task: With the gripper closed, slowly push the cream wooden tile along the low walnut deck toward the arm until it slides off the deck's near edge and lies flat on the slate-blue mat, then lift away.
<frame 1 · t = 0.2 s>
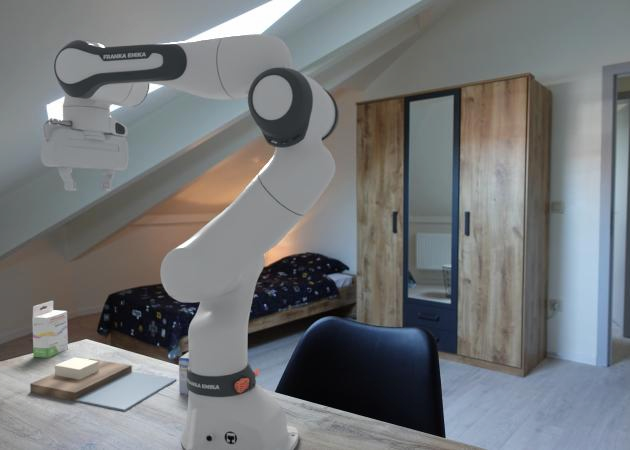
hand: (89, 190, 100), 48 cm above the table, fingers open, 8 cm apart
mat: (128, 390, 114), on the table
medicine box: (195, 388, 116), on the table
ink box: (51, 353, 140), on the table
deck: (83, 381, 119), on the table
tile: (77, 372, 119), point 2 cm above the table, touching deck
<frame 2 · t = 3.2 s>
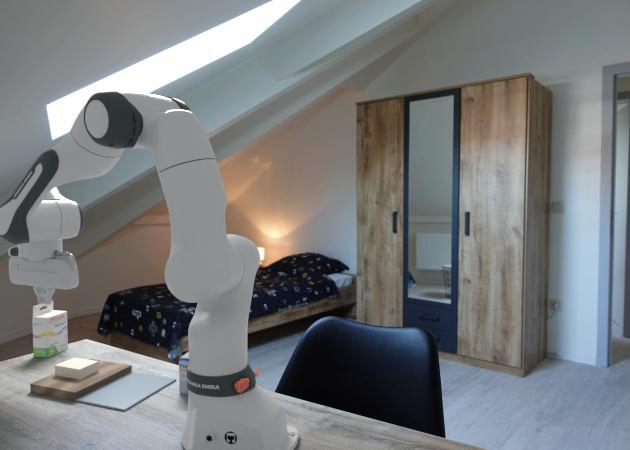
hand: (44, 303, 122), 19 cm above the table, fingers closed
nothing on the table moved.
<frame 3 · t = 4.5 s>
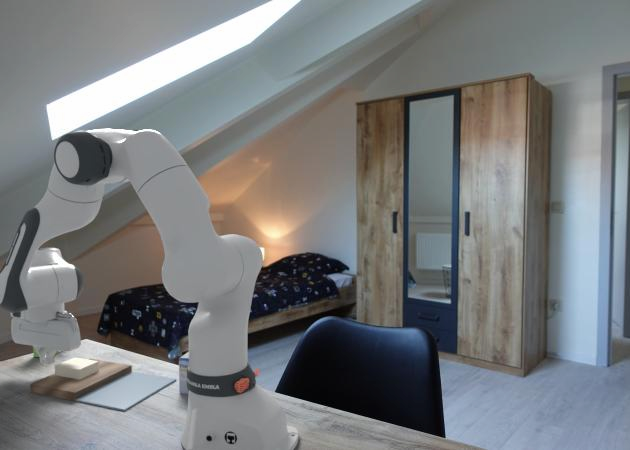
hand: (46, 363, 123), 3 cm above the table, fingers closed
nothing on the table moved.
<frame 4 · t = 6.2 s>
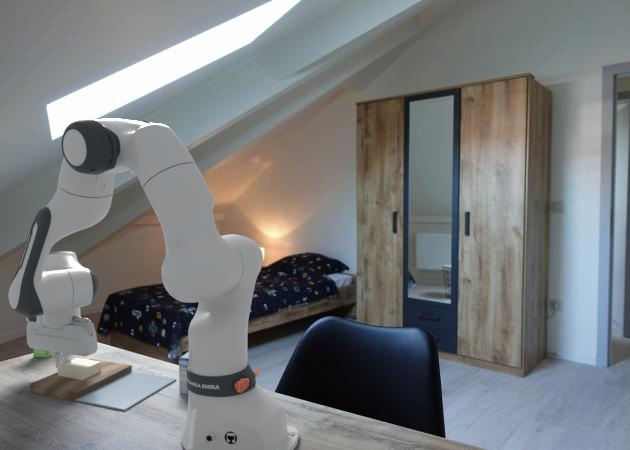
hand: (63, 368, 121), 3 cm above the table, fingers closed
tile: (79, 373, 119), point 2 cm above the table, touching deck, gripper
everything else where it was.
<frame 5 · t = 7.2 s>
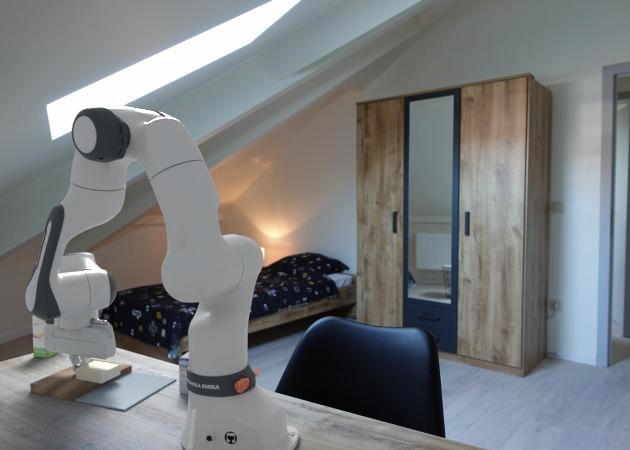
hand: (80, 371, 119), 3 cm above the table, fingers closed
tile: (98, 376, 117), point 2 cm above the table, touching deck, gripper
everything else where it was.
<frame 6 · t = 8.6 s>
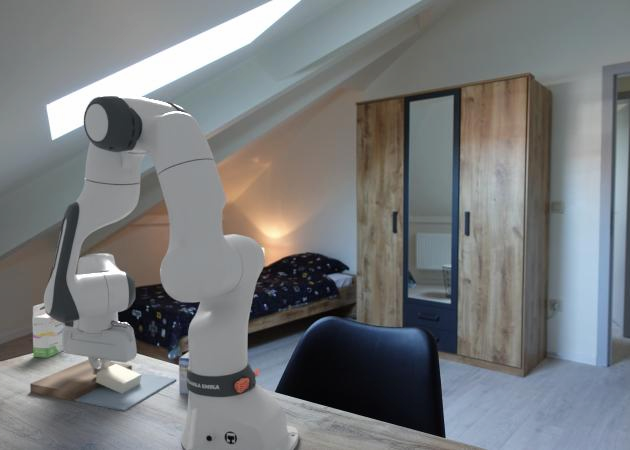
hand: (100, 374, 117), 3 cm above the table, fingers closed
tile: (118, 383, 115), point 1 cm above the table, tilted 12°, touching deck, gripper, mat
everything else where it was.
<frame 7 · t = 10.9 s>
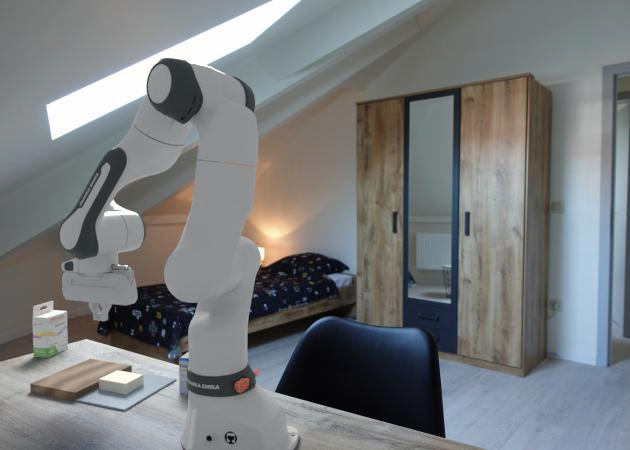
hand: (100, 320, 116), 16 cm above the table, fingers closed
tile: (121, 386, 115), resting on mat
everything else where it was.
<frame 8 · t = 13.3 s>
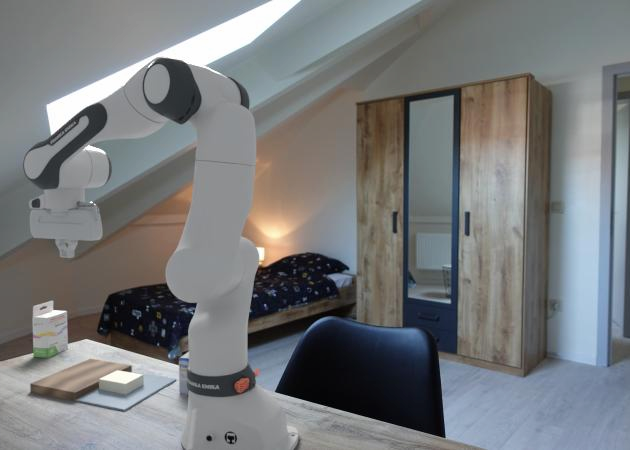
hand: (67, 257, 118), 31 cm above the table, fingers closed
nothing on the table moved.
at the end: tile inside the target area on the mat (2.2 cm from its centre), point 0.4 cm above the mat's base; tile touching mat; tile tilted 0° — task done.
